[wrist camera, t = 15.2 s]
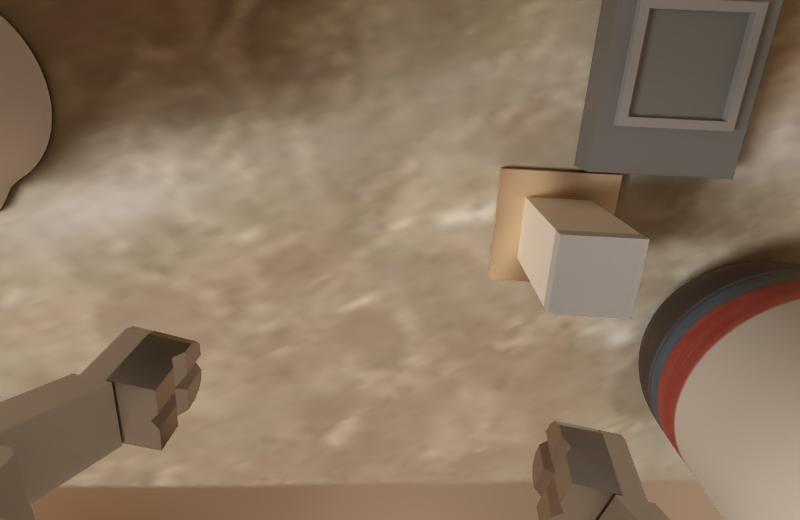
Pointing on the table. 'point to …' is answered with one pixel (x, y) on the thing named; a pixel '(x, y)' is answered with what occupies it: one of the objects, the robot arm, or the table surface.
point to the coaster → (539, 185)
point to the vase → (732, 385)
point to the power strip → (674, 85)
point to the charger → (581, 258)
